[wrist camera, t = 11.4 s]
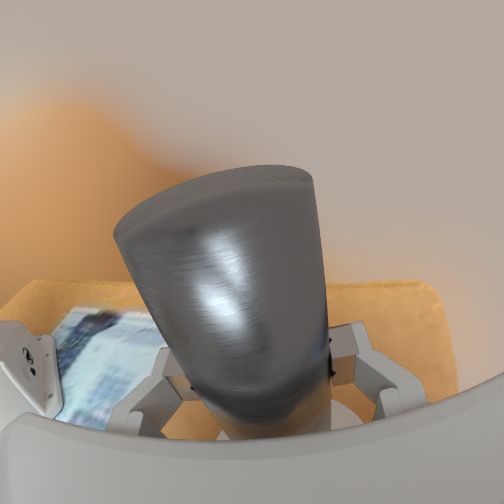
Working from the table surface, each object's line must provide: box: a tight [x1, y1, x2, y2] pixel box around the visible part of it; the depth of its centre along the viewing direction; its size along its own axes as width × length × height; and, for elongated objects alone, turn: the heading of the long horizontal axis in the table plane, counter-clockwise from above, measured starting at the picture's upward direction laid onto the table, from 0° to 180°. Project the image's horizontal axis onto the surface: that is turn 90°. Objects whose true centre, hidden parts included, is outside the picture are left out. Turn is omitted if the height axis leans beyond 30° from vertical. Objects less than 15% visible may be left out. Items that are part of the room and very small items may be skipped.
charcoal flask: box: [113, 165, 331, 440], centre depth 11 cm, size 5×5×15 cm
